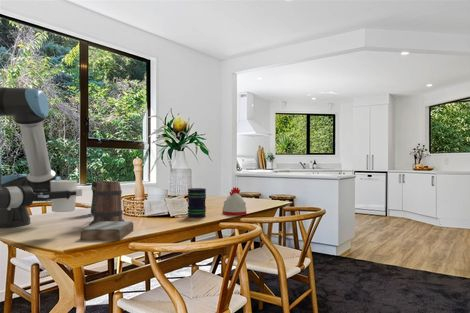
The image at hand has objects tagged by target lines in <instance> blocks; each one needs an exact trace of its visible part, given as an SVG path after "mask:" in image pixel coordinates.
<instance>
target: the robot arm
mask: <svg viewBox="0 0 470 313" xmlns="http://www.w3.org/2000/svg"><path fill="white" fill-rule="evenodd" d="M49 114H50V103H49V100H48V97H47V95H46V94H45V92H44V91H42V90H41V89H39V88H31V87H0V117H13V121H14V123H15V124H16V125H19V129H20V130H19V131H20V134H21V138H22V143H23V147H24V148H23V149H24V152H25V153H24V154H25V157H26V163H27V165H28V166H27V167H28V171H29V173H28V174H27V173H18V174H9V175H3V176H2V172H3V171H2V170H3V165H2V156H1V154H0V228H15V227H23V226H27V225H28V226H29V225H30V224H31V217H30V213H29V210H28V208H27V207H30V206H31V205H32V204H33V203H34V202H35V203H36V202H37V203H38V202H39V203H40V202H46V203H49V202H51V199H60V198H67V199H69V198H70V197H75V196H76V197H82V196H83V189H82V188H76V189H75V190H66V191H52V192H51V186H50V181H54V180H62V178H61V176H57V175H56V171H55V170H54V169H52V168H51V163H50V157H49V151H48V146H47V140H46V136H45V130H44V125H43V122H45V121H46V118H47V117H48V116H49Z"/></svg>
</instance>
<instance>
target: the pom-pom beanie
mask: <svg viewBox="0 0 470 313" xmlns="http://www.w3.org/2000/svg"><path fill="white" fill-rule="evenodd" d="M240 192H241V188H240V189H239V187H236V186H235V187H232V189H231V190H230V191H229V195H228V196H227V198H225V200H224V202H223V207H222V214H223V215H227V216H243V215H247V205H246V201H245V200H244V199H243V196H241V194H240Z"/></svg>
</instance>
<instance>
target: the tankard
mask: <svg viewBox="0 0 470 313" xmlns="http://www.w3.org/2000/svg"><path fill="white" fill-rule="evenodd" d="M122 192H123V191H122V188H121V183H120V181H109V182H97V185H96V190H95V204H94V211H93V214H92V216H93V220H91V221H90V224H89V225H88V226H90V225H92V224H95V223H97V222H99V221H124V222H126V221H125V219H123V207H122V203H123V202H122V194H123V193H122Z"/></svg>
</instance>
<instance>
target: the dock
mask: <svg viewBox="0 0 470 313" xmlns="http://www.w3.org/2000/svg"><path fill="white" fill-rule="evenodd" d="M124 221H125V220H124ZM124 221H99V222H97V223H95V224H92V225H90V224H89V225H90V226H89V225H88V226H86V227H84V228H82V229H81V230H80V234H79V235H80V236H79V237H80V241H121V240H122V239H124V238H125V237H126V236H128V235H129V234H131V233H132V232H134V222H133V221H125V222H124Z"/></svg>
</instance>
